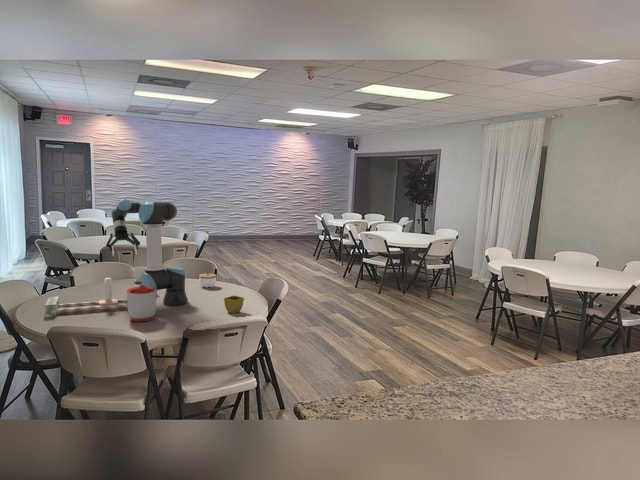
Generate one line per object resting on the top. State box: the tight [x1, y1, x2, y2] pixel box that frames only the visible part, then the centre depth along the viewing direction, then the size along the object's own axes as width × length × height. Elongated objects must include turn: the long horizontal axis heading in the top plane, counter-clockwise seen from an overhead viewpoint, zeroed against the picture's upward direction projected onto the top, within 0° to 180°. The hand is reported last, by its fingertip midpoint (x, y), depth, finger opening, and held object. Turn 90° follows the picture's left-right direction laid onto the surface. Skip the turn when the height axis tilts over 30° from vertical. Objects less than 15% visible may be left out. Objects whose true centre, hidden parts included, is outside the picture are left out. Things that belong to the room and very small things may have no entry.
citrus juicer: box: [126, 284, 161, 323], centre depth 242 cm, size 16×17×20 cm
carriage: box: [99, 277, 119, 306], centre depth 259 cm, size 10×8×16 cm
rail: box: [44, 296, 128, 318], centre depth 256 cm, size 48×18×7 cm, turn 116°
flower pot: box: [223, 295, 245, 314], centre depth 262 cm, size 9×9×9 cm
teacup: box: [131, 266, 147, 283], centre depth 330 cm, size 12×15×10 cm
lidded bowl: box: [198, 272, 217, 288], centre depth 321 cm, size 13×13×11 cm
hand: (125, 254), depth 277 cm, fingers open, 13 cm apart
